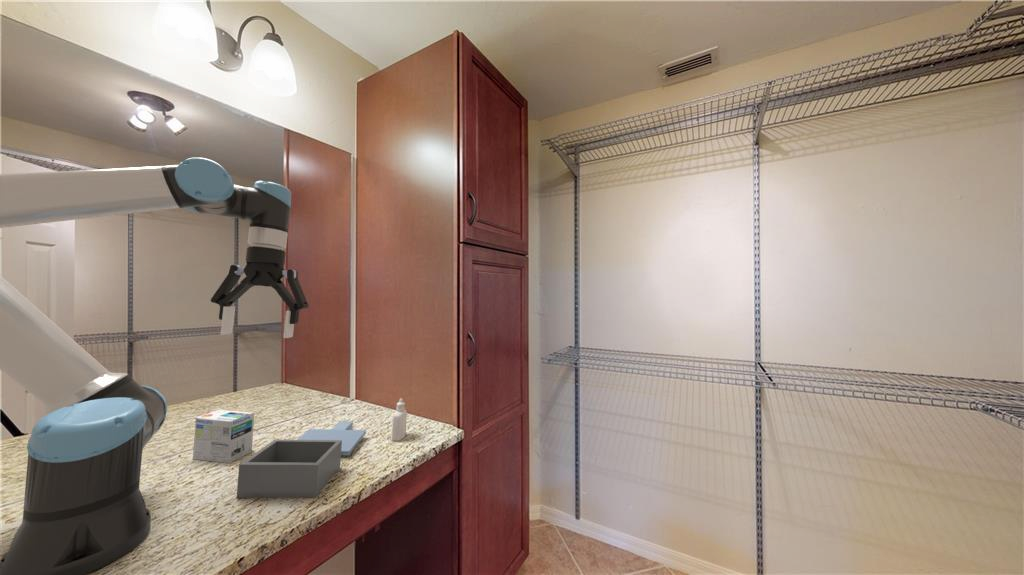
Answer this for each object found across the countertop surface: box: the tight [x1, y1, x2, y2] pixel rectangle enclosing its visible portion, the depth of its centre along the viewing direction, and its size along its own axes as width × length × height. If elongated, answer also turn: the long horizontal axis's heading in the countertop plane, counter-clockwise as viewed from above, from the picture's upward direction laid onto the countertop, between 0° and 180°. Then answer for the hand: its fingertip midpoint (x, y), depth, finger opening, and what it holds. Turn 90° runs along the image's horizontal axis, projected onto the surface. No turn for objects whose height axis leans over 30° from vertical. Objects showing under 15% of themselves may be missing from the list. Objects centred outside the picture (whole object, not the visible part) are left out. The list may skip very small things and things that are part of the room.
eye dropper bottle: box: [391, 398, 408, 442], centre depth 101 cm, size 4×6×12 cm
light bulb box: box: [192, 409, 255, 464], centre depth 85 cm, size 11×7×11 cm, turn 84°
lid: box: [296, 420, 367, 456], centre depth 95 cm, size 17×19×2 cm
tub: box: [236, 438, 342, 499], centre depth 75 cm, size 16×12×7 cm
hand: (257, 336), depth 77 cm, fingers open, 13 cm apart
